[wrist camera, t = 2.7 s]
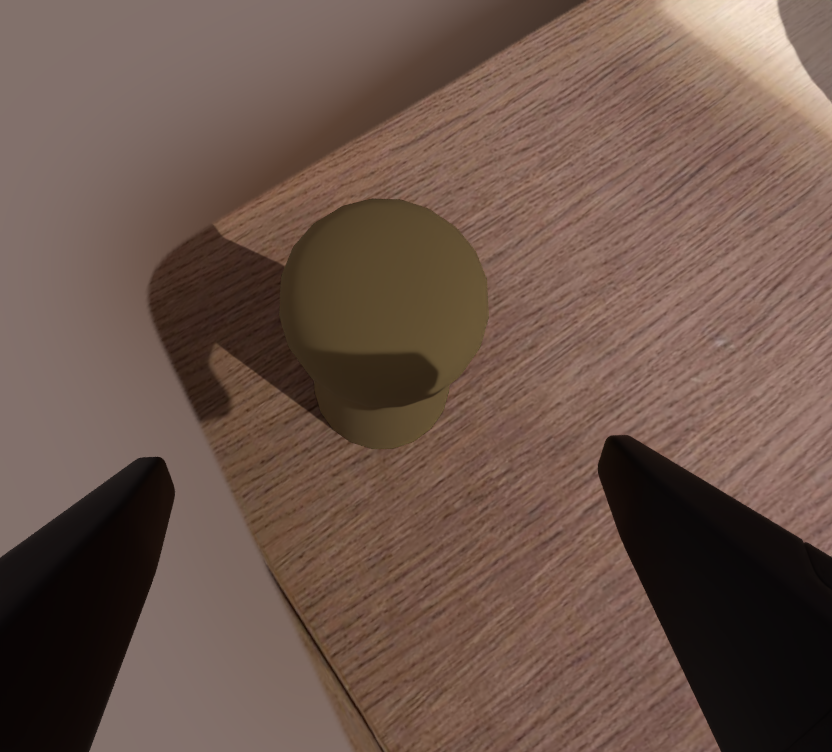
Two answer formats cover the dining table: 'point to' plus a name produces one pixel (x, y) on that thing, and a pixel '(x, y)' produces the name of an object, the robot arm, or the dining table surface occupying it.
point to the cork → (383, 317)
